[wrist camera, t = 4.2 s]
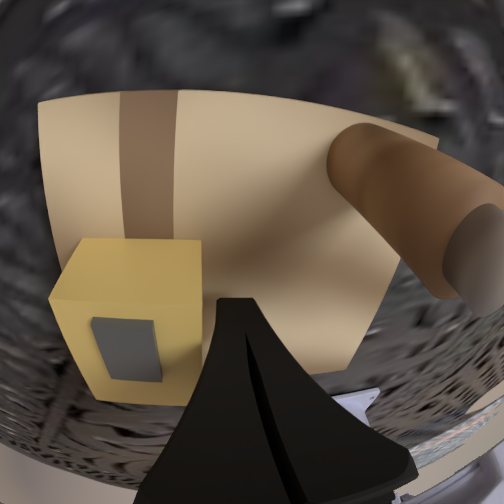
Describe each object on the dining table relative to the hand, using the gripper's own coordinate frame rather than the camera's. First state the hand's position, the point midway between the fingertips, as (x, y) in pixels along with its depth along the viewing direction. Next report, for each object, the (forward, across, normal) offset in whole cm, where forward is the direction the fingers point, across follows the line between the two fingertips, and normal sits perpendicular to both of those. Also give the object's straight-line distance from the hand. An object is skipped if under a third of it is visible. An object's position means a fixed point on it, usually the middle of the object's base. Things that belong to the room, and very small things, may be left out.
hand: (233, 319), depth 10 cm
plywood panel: (+2, 0, -1) cm, 2 cm away
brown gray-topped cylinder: (+1, -4, -6) cm, 7 cm away
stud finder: (+1, +3, 0) cm, 3 cm away
